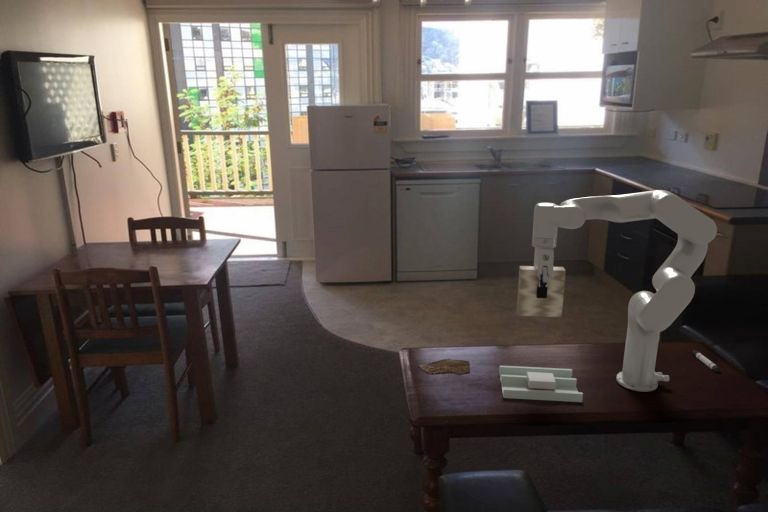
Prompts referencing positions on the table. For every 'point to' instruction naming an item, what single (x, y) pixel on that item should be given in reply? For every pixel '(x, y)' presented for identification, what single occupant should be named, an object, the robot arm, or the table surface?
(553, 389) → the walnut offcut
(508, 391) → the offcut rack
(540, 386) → the grey offcut
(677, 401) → the table surface
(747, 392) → the table surface
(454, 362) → the brown ridged slab
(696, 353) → the marker
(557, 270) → the birch sheet
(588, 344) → the table surface
